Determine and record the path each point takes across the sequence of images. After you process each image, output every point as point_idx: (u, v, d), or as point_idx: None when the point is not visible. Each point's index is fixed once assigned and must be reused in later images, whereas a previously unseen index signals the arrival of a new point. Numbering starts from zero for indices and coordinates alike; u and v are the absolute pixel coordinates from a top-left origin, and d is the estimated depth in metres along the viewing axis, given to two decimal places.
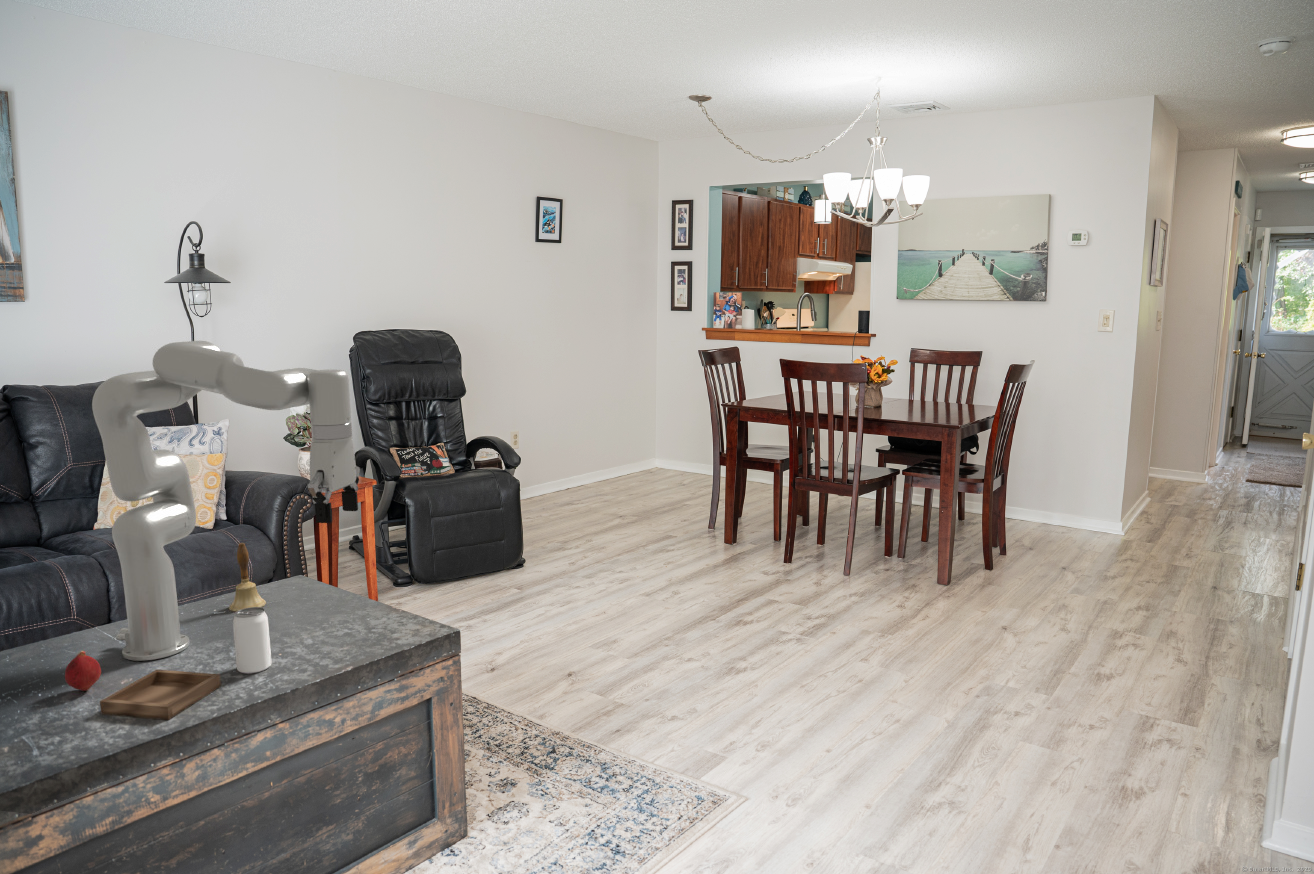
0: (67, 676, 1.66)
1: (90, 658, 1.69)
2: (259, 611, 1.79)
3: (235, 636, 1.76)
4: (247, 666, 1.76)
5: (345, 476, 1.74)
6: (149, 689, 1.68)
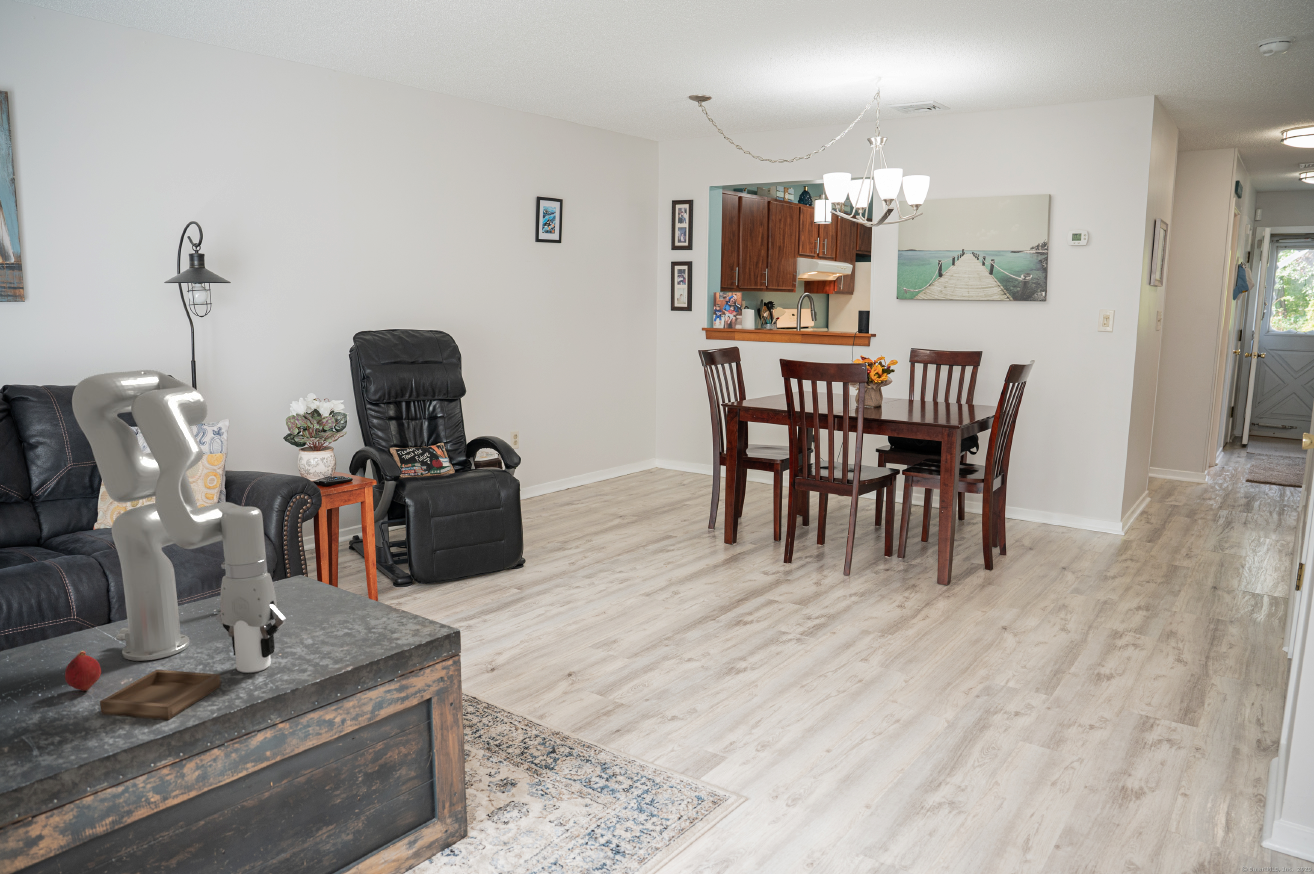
0: (67, 676, 1.66)
1: (90, 658, 1.69)
2: None
3: (235, 635, 1.76)
4: (246, 665, 1.76)
5: None
6: (149, 689, 1.68)
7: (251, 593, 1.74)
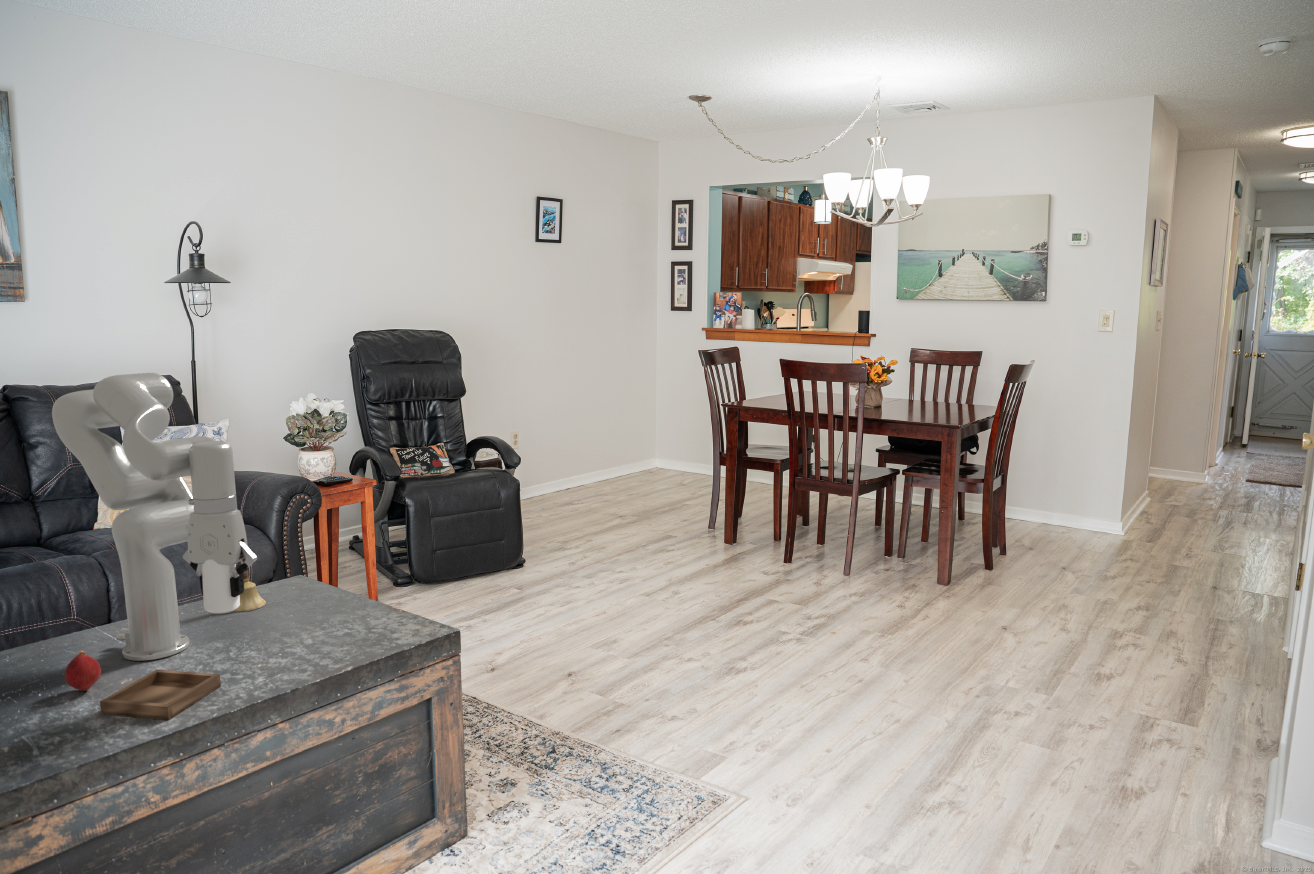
0: (67, 676, 1.66)
1: (90, 658, 1.69)
2: None
3: (203, 574, 1.70)
4: (214, 606, 1.70)
5: None
6: (149, 689, 1.68)
7: (221, 529, 1.68)
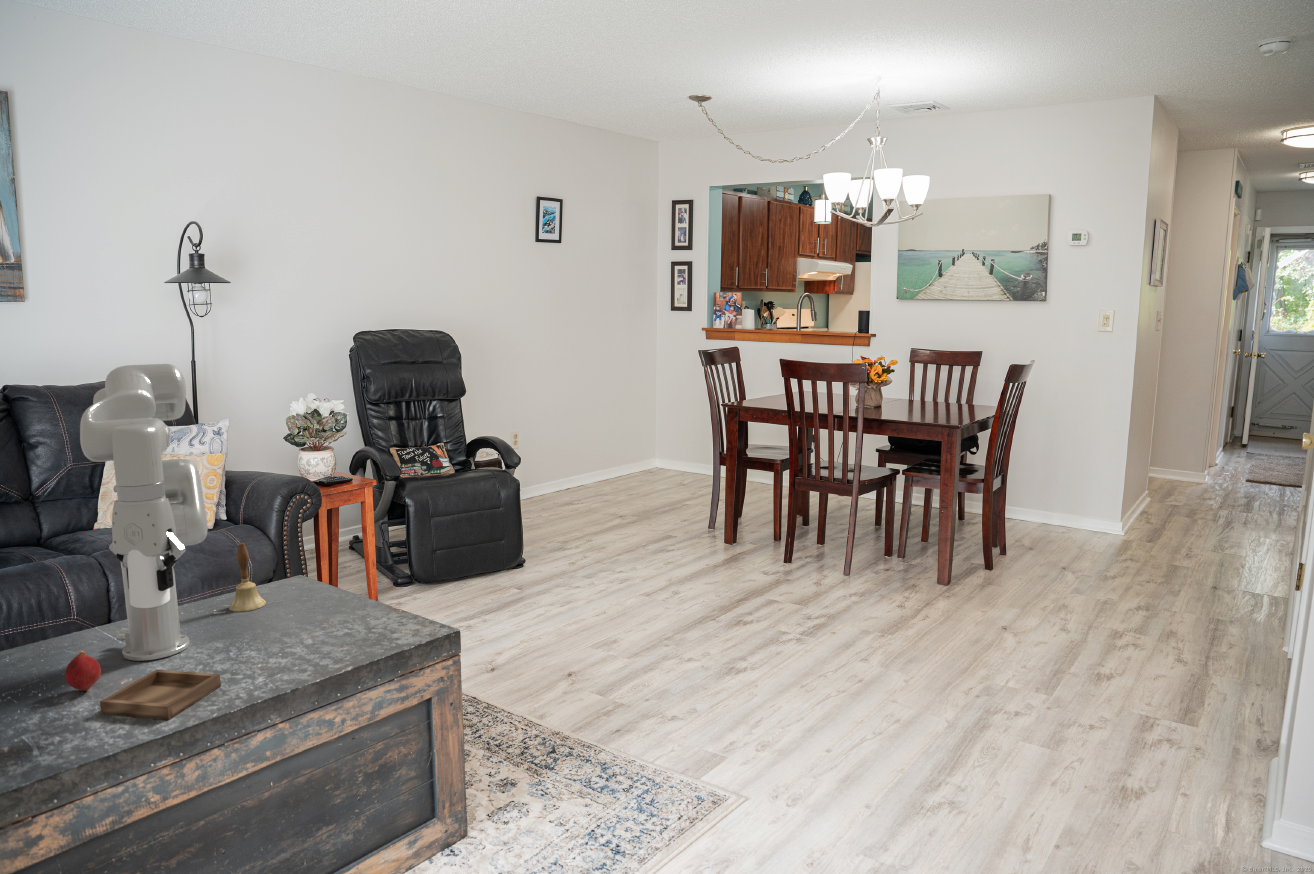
0: (67, 676, 1.66)
1: (90, 658, 1.69)
2: None
3: (128, 567, 1.59)
4: (140, 600, 1.59)
5: None
6: (149, 689, 1.68)
7: (145, 518, 1.57)
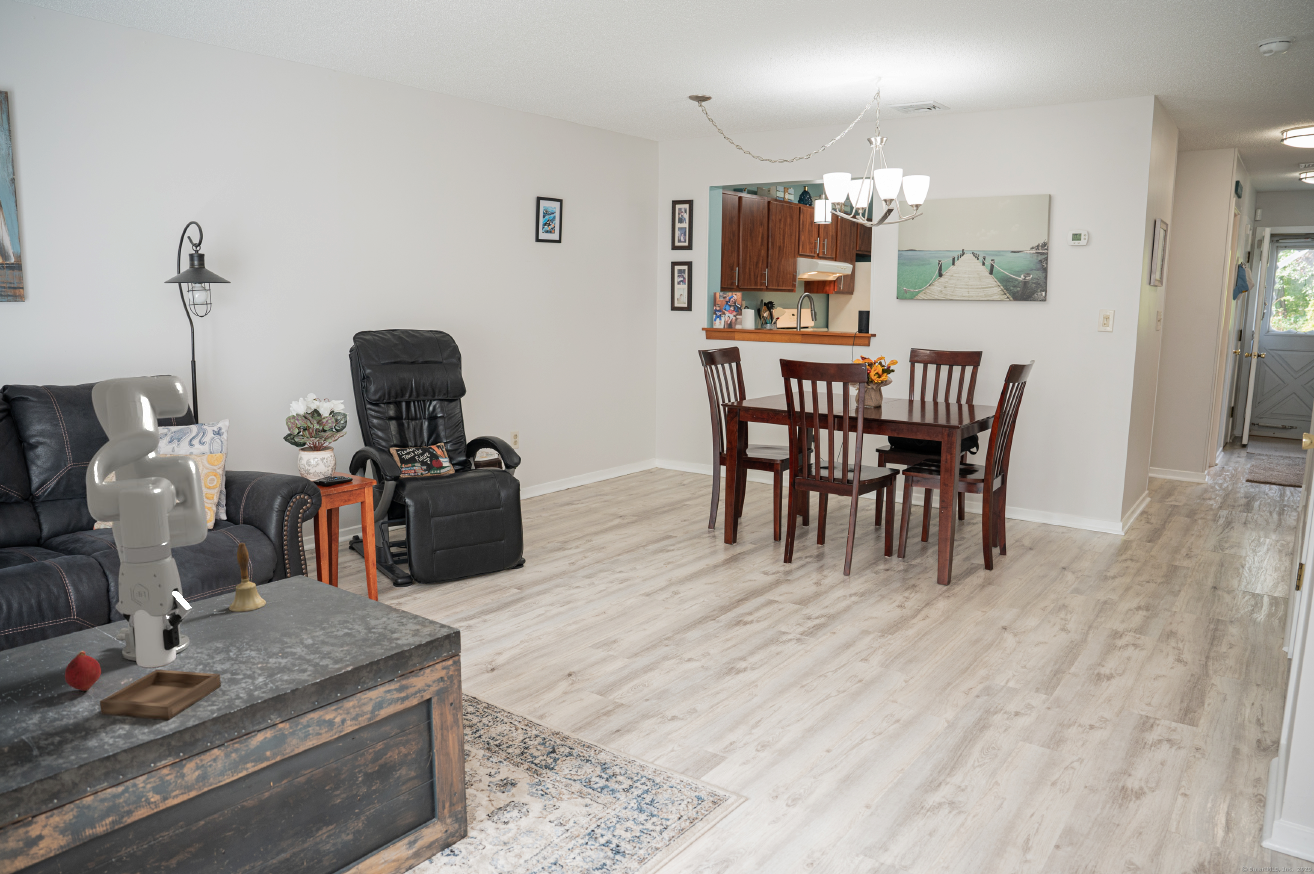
0: (67, 676, 1.66)
1: (90, 658, 1.69)
2: None
3: (135, 626, 1.61)
4: (146, 660, 1.61)
5: None
6: (149, 689, 1.68)
7: (151, 579, 1.58)
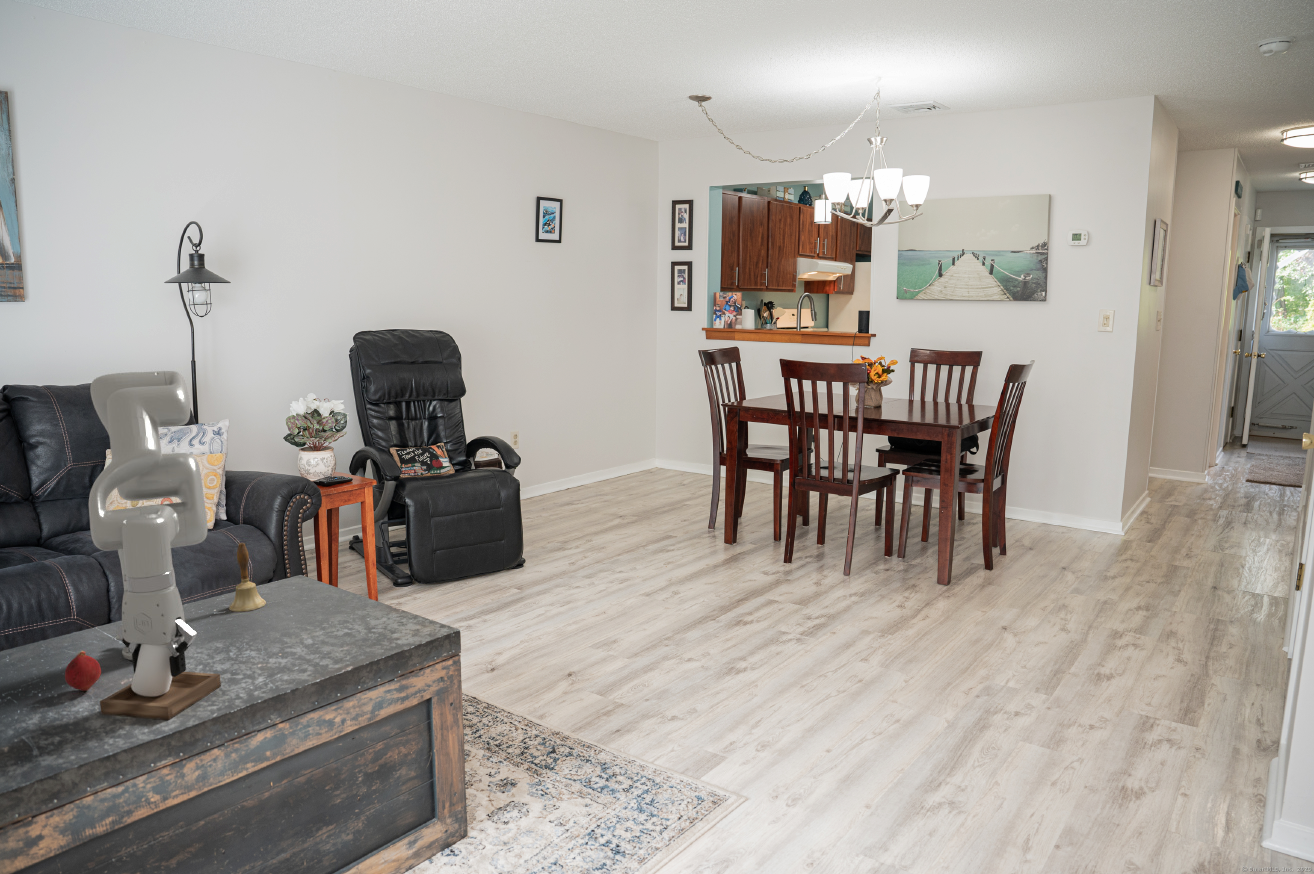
0: (67, 676, 1.66)
1: (90, 658, 1.69)
2: None
3: (139, 652, 1.63)
4: (139, 687, 1.63)
5: None
6: None
7: (154, 608, 1.59)
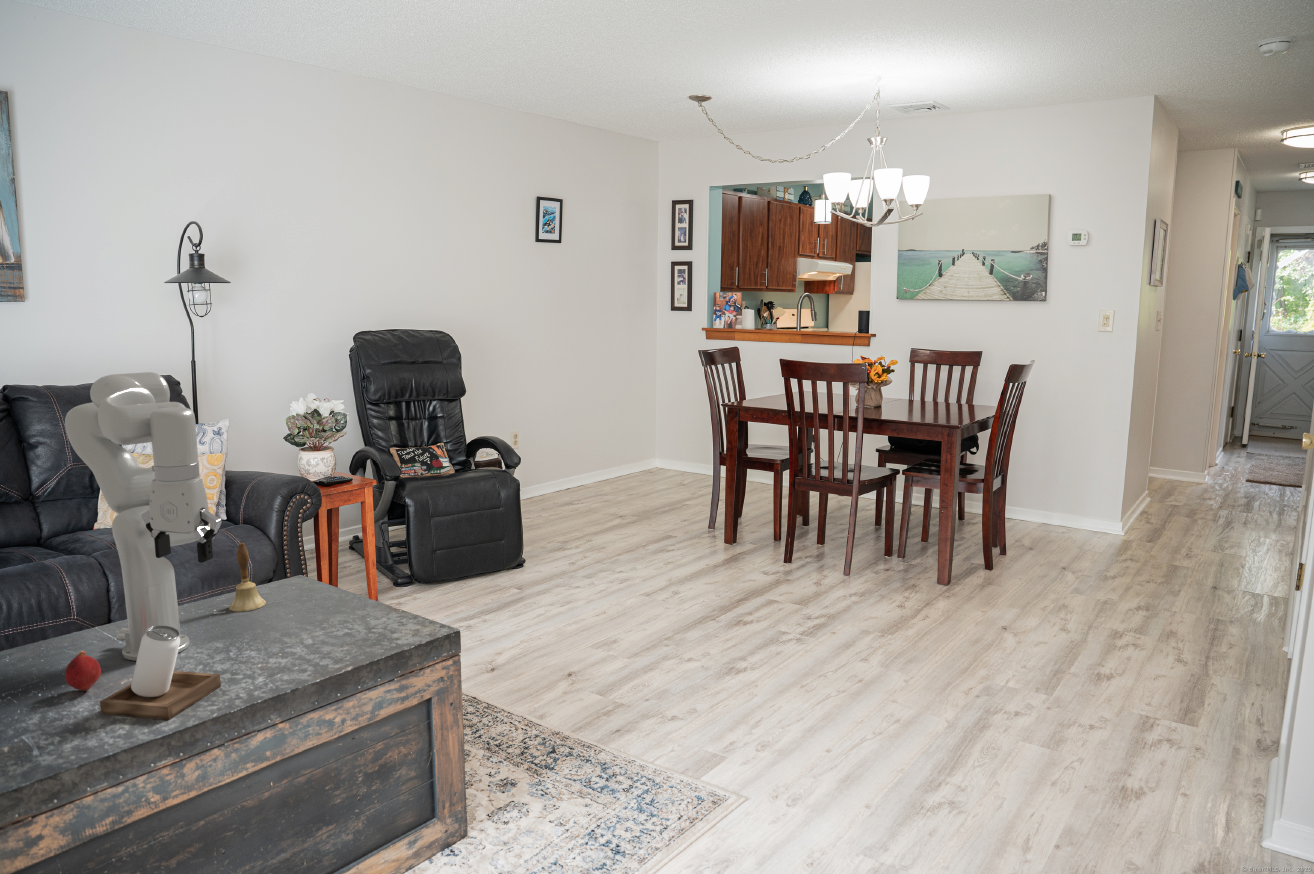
0: (67, 676, 1.66)
1: (90, 658, 1.69)
2: (173, 635, 1.65)
3: (138, 653, 1.63)
4: (139, 688, 1.63)
5: None
6: None
7: (179, 497, 1.65)
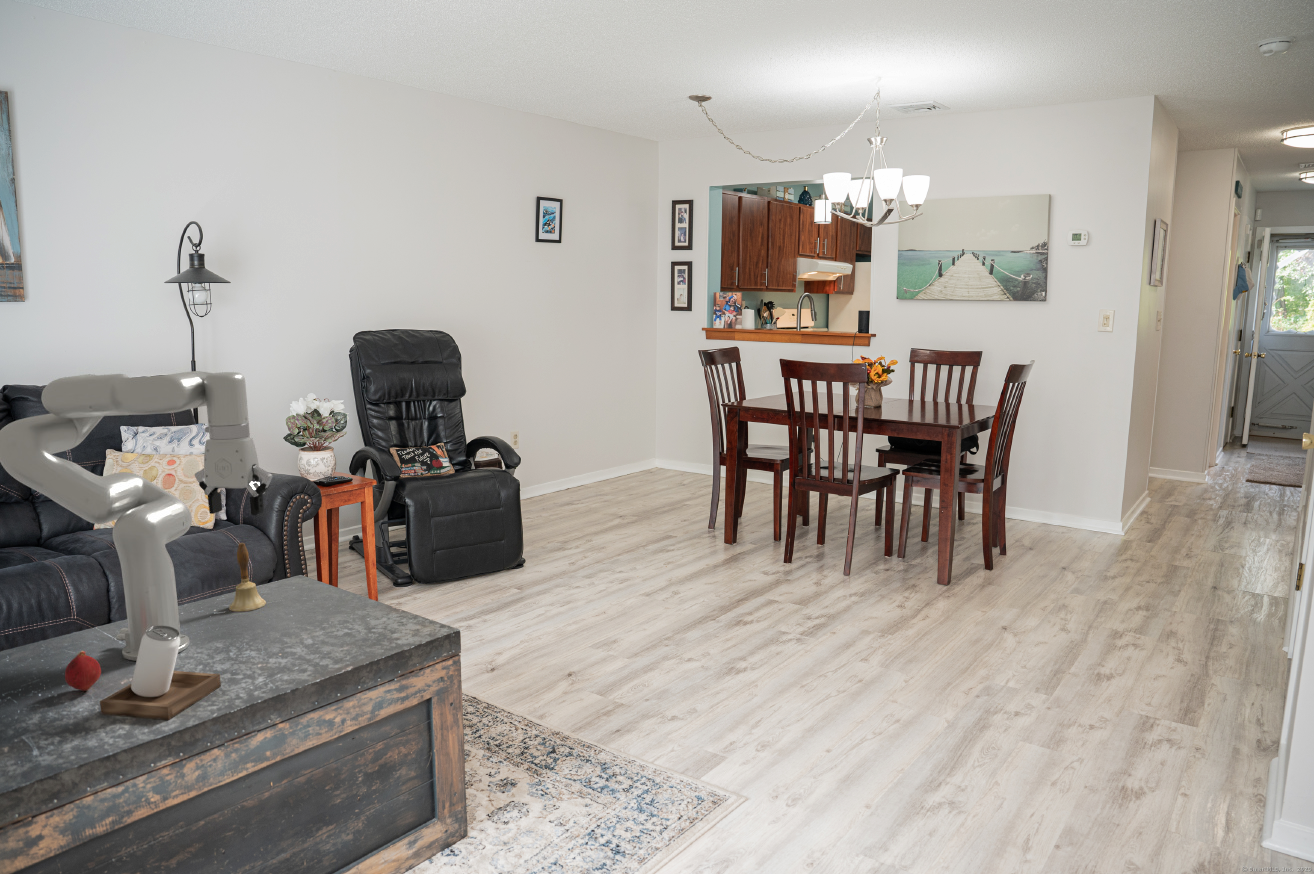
0: (67, 676, 1.66)
1: (90, 658, 1.69)
2: (173, 635, 1.65)
3: (138, 653, 1.63)
4: (139, 688, 1.63)
5: None
6: None
7: (234, 454, 1.78)
